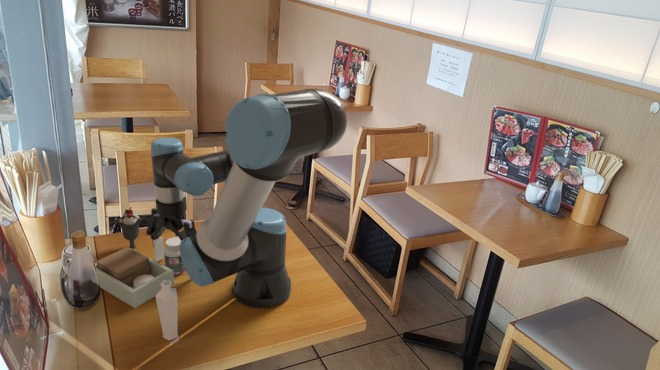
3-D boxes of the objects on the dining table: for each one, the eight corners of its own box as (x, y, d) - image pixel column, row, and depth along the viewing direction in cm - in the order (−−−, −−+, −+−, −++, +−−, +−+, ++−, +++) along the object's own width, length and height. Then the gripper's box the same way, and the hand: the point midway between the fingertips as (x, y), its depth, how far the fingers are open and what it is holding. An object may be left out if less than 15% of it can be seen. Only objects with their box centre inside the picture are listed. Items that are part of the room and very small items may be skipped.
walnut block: (150, 277, 124) (148, 258, 122) (120, 293, 117) (118, 273, 115) (129, 265, 128) (127, 246, 126) (99, 280, 121) (96, 261, 119)
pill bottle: (187, 277, 127) (184, 246, 123) (165, 279, 125) (162, 247, 121) (188, 266, 132) (185, 235, 128) (166, 267, 130) (164, 237, 126)
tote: (174, 287, 122) (173, 270, 120) (135, 311, 113) (132, 292, 110) (131, 264, 131) (129, 247, 128) (91, 284, 121) (88, 266, 119)
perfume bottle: (175, 328, 108) (171, 274, 102) (184, 338, 105) (180, 283, 99) (156, 336, 105) (150, 281, 99) (165, 347, 102) (159, 291, 96)
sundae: (136, 257, 134) (131, 211, 128) (116, 254, 135) (109, 207, 129) (149, 246, 140) (144, 201, 134) (129, 242, 141) (124, 198, 135)
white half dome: (159, 289, 120) (158, 279, 118) (143, 298, 116) (141, 288, 115) (147, 282, 122) (145, 272, 121) (130, 291, 118) (129, 281, 117)
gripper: (216, 206, 116) (219, 277, 125) (151, 180, 128) (157, 247, 137) (193, 217, 110) (197, 290, 119) (127, 189, 122) (135, 257, 131)
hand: (176, 267), depth 128 cm, fingers open, 13 cm apart
